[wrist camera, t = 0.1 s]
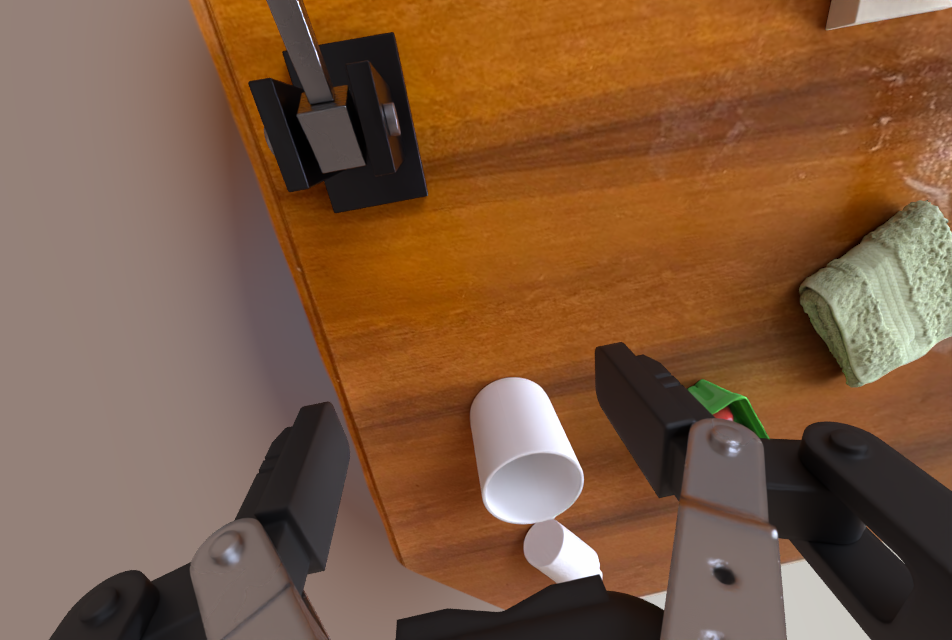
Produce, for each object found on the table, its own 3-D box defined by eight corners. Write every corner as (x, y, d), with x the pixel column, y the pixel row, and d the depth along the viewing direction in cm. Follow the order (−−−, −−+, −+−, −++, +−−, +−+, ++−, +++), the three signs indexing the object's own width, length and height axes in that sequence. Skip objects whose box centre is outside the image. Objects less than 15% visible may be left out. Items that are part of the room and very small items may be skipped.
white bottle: (569, 570, 54) (584, 615, 49) (518, 533, 49) (529, 579, 44) (605, 548, 53) (624, 592, 48) (556, 508, 48) (572, 553, 43)
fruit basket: (745, 423, 45) (837, 508, 35) (678, 464, 47) (748, 555, 37) (708, 363, 40) (803, 441, 30) (636, 410, 42) (703, 499, 32)
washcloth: (839, 385, 44) (868, 403, 41) (782, 285, 37) (812, 298, 34) (954, 310, 41) (993, 323, 38) (915, 186, 34) (960, 191, 31)
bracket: (287, 54, 25) (187, -2, 14) (394, 35, 25) (373, -33, 15) (337, 210, 29) (289, 255, 19) (428, 193, 30) (430, 228, 19)
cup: (533, 362, 38) (568, 435, 29) (567, 443, 43) (605, 527, 34) (455, 394, 38) (465, 476, 29) (498, 470, 44) (518, 560, 35)
